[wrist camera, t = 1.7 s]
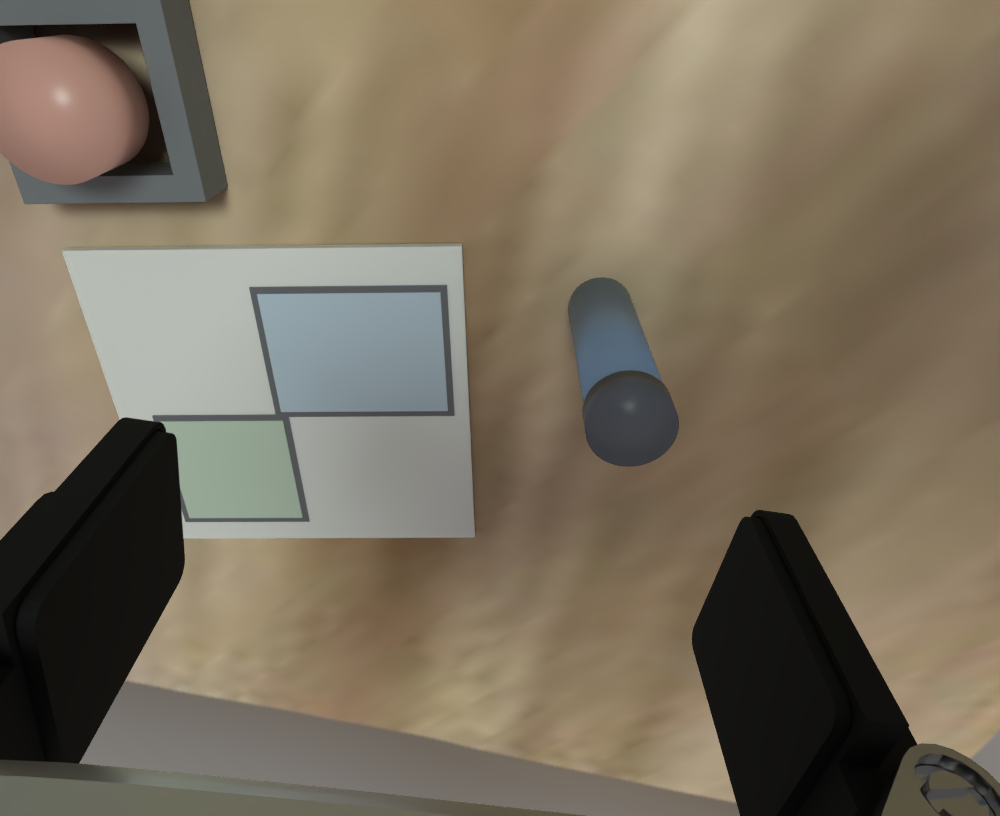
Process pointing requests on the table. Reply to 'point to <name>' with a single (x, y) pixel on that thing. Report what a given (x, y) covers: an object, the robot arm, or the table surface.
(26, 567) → the robot arm
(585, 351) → the cylinder
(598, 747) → the table surface
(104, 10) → the button collar
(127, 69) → the button
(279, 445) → the sheet
